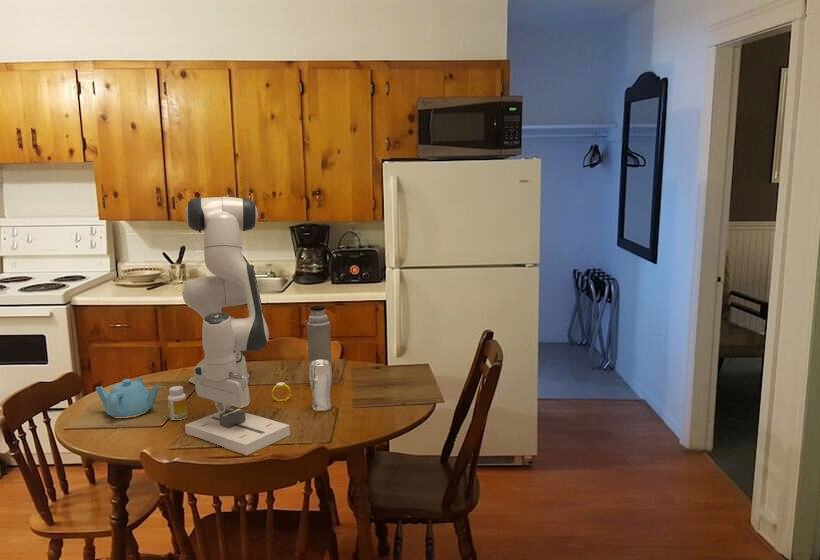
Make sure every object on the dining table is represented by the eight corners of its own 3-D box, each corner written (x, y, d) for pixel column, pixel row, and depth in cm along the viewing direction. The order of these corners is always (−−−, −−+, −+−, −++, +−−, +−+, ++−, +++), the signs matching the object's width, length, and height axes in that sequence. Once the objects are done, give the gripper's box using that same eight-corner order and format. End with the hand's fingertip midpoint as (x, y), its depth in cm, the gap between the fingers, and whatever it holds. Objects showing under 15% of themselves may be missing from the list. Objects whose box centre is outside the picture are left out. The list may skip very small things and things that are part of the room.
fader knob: (219, 424, 190) (219, 414, 190) (236, 417, 195) (235, 407, 194) (229, 427, 188) (228, 416, 187) (245, 420, 193) (244, 410, 192)
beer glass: (329, 412, 207) (326, 366, 204) (307, 411, 208) (305, 365, 206) (335, 404, 213) (333, 359, 211) (315, 403, 215) (313, 358, 212)
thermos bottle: (319, 379, 239) (315, 303, 234) (337, 382, 235) (333, 305, 230) (305, 386, 232) (301, 307, 227) (323, 389, 228) (319, 309, 223)
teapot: (96, 412, 212) (93, 380, 210) (143, 400, 222) (140, 369, 220) (113, 425, 201) (109, 391, 199) (162, 412, 211) (159, 379, 209)
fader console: (185, 434, 192) (185, 424, 191) (229, 417, 205) (229, 407, 204) (246, 455, 177) (245, 444, 177) (290, 435, 190) (289, 424, 189)
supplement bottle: (191, 415, 207) (189, 385, 205) (180, 422, 202) (177, 391, 200) (177, 414, 208) (174, 384, 207) (165, 420, 203) (163, 390, 202)
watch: (273, 403, 216) (270, 386, 215) (273, 400, 219) (270, 383, 218) (291, 400, 218) (289, 383, 216) (291, 398, 220) (289, 380, 219)
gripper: (253, 372, 187) (256, 419, 189) (207, 362, 199) (210, 406, 201) (236, 378, 182) (239, 426, 184) (189, 367, 194) (193, 412, 196)
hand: (224, 415), depth 193 cm, fingers closed
